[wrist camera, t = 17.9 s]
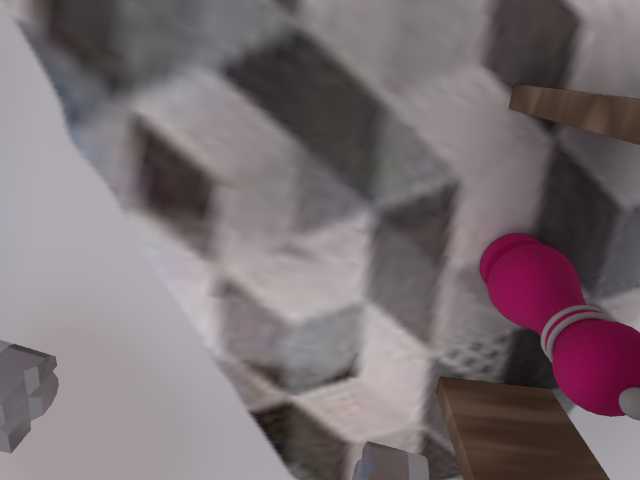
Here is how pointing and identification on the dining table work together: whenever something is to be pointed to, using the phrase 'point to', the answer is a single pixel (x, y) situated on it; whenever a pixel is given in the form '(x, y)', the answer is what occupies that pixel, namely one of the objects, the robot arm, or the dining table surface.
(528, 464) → the arch
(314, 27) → the dining table surface
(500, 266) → the pepper mill
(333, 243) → the dining table surface
